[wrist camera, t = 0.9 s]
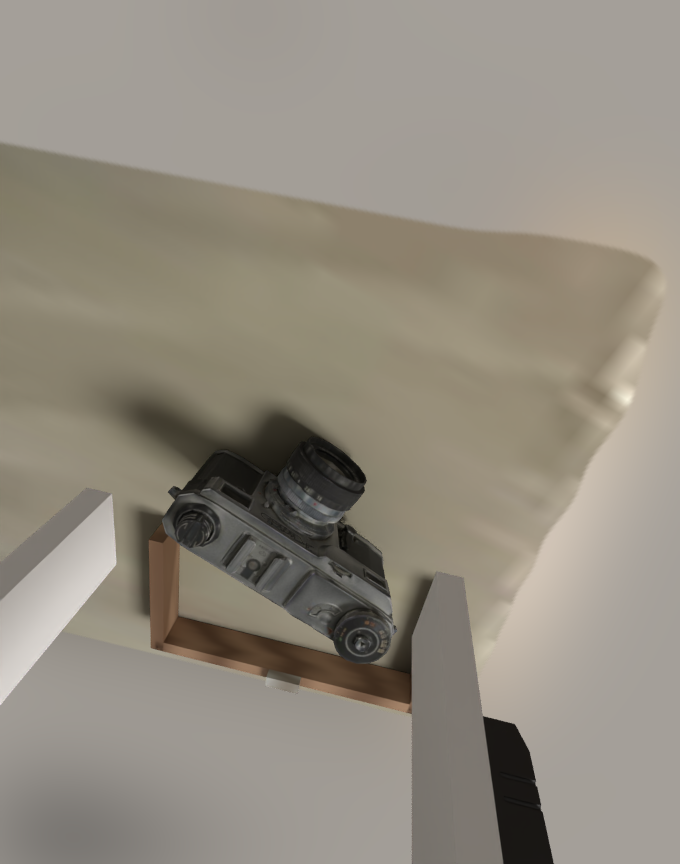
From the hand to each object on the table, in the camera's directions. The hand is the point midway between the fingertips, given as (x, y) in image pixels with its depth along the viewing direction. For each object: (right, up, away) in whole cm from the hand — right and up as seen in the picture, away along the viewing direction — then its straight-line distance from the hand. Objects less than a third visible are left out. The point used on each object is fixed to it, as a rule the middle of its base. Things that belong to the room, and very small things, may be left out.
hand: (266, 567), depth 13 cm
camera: (+1, 0, +23) cm, 23 cm away
